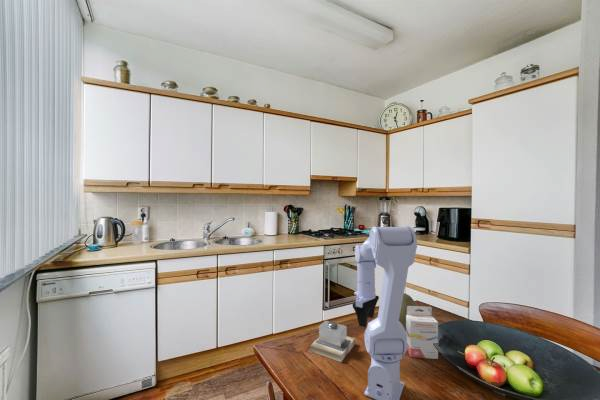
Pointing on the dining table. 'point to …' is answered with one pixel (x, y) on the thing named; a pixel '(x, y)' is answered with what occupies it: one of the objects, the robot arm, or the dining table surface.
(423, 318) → the ink cartridge box
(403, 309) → the fruit
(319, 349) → the stand
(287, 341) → the dining table surface
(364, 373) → the dining table surface
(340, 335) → the housing
